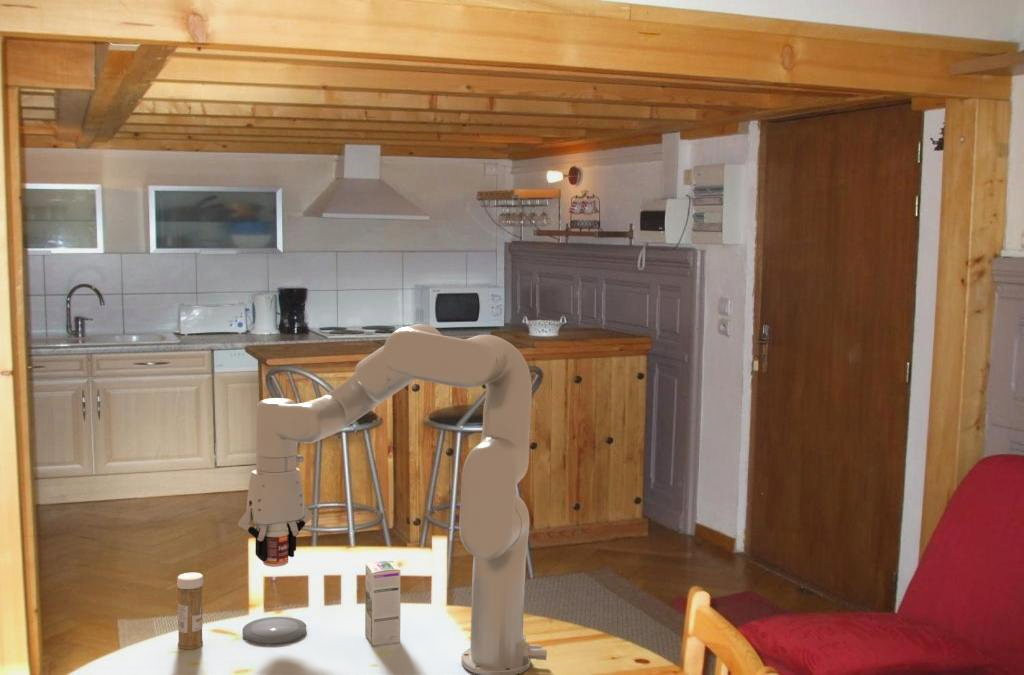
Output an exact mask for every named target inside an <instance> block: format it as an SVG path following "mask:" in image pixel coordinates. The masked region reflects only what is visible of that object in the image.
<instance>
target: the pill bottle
mask: <svg viewBox="0 0 1024 675" xmlns="http://www.w3.org/2000/svg"><path fill="white" fill-rule="evenodd" d="M264 537H265V540H266V541H267V560H266V561H262V563H263V565H264V566H267V567H271V568H277V567H283V566H285V565H287V564H289V556H288V548H289V532H288V530H287V522H286V523H285V522H283V523H275V524H271V525H267V529H266V533H265V536H264Z"/></svg>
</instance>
